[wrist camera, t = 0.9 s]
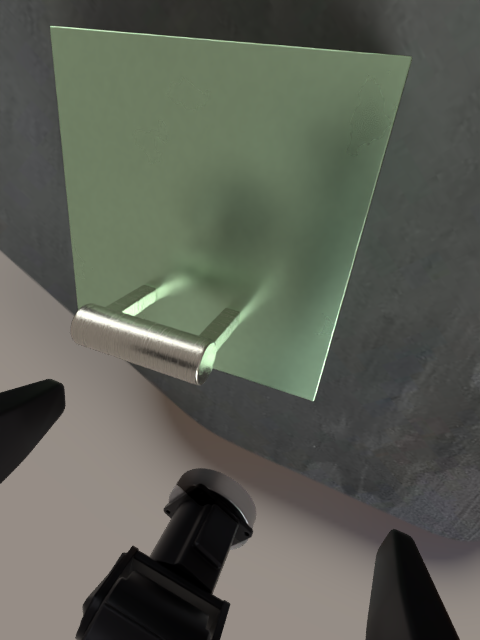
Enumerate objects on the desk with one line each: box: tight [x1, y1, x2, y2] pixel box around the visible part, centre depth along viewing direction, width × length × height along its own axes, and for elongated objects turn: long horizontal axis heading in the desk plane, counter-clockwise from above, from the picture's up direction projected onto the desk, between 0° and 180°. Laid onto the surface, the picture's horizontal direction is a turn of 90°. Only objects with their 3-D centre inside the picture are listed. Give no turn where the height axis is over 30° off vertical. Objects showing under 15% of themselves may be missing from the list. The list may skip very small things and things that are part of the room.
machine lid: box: [50, 26, 412, 401], centre depth 13 cm, size 12×12×5 cm
